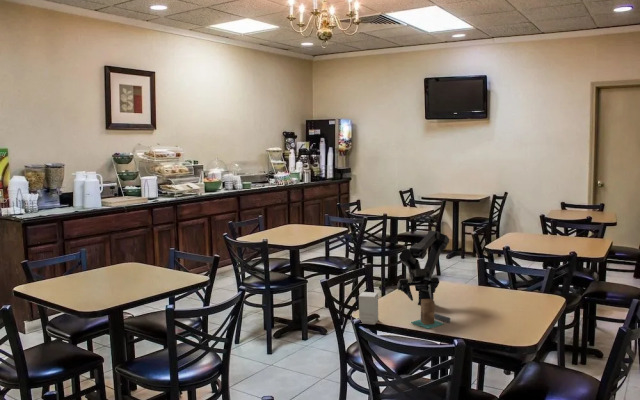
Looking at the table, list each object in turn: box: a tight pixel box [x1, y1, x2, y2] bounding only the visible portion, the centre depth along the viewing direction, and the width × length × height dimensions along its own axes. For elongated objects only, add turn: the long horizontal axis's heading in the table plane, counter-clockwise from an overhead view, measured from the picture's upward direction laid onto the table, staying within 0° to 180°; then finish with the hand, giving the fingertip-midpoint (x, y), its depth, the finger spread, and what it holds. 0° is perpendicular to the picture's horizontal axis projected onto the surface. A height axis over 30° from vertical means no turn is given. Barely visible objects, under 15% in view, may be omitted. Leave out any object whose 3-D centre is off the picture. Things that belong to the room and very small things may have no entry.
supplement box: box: [358, 291, 379, 325], centre depth 240 cm, size 7×7×13 cm
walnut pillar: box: [420, 299, 435, 325], centre depth 236 cm, size 5×5×10 cm
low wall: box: [434, 312, 451, 324], centre depth 242 cm, size 10×1×2 cm, turn 36°
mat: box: [410, 318, 445, 330], centre depth 237 cm, size 10×10×1 cm
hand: (422, 299), depth 243 cm, fingers open, 9 cm apart
